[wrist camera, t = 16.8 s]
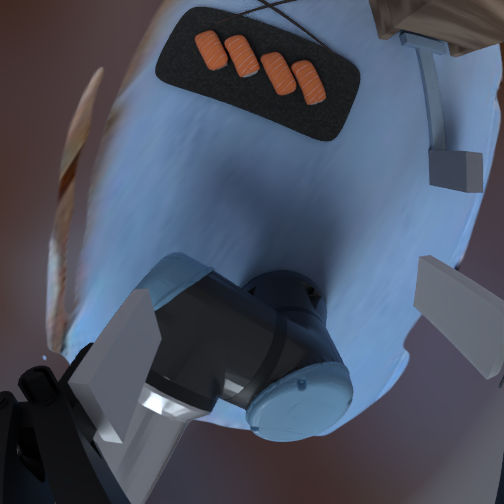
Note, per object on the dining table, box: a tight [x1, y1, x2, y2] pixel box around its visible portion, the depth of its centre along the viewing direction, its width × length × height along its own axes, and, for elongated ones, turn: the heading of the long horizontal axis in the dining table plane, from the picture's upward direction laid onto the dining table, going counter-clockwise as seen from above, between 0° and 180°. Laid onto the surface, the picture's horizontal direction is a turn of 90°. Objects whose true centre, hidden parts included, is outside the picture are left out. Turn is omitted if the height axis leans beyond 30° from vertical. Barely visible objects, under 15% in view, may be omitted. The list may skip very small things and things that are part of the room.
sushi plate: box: [155, 0, 360, 141], centre depth 33 cm, size 29×30×4 cm
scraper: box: [400, 33, 483, 193], centre depth 33 cm, size 27×9×10 cm, turn 6°
